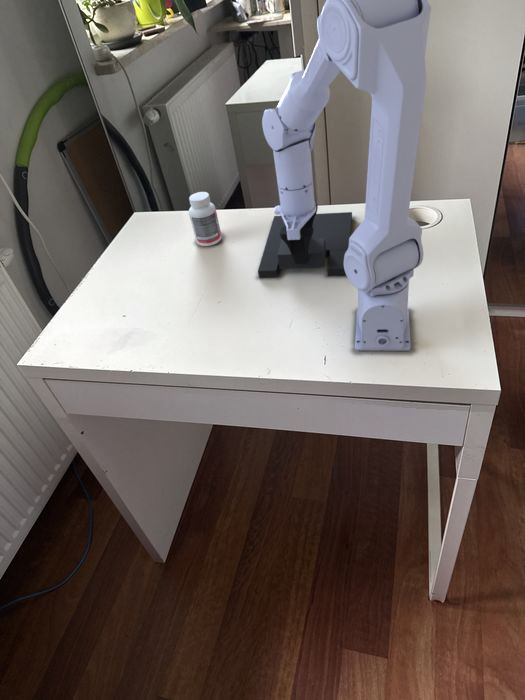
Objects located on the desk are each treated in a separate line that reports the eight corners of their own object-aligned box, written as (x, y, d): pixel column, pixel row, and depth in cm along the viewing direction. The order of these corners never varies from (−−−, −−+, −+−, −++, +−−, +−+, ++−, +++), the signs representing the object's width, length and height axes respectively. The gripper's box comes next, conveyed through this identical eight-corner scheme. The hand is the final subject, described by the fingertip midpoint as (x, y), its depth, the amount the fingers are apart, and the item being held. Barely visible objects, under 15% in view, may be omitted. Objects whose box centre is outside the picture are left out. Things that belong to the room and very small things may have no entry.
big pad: (347, 275, 92) (347, 268, 91) (259, 277, 95) (257, 271, 94) (352, 218, 106) (352, 211, 105) (275, 222, 110) (274, 215, 109)
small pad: (324, 267, 92) (322, 253, 90) (279, 269, 94) (277, 254, 92) (326, 252, 96) (325, 238, 94) (283, 253, 97) (281, 239, 95)
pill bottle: (226, 239, 107) (217, 195, 101) (204, 250, 105) (193, 205, 99) (213, 230, 111) (203, 187, 104) (192, 240, 109) (180, 197, 102)
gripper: (277, 165, 91) (286, 233, 100) (263, 205, 81) (275, 277, 90) (317, 162, 89) (323, 232, 98) (309, 202, 79) (316, 276, 88)
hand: (302, 253), depth 94 cm, fingers closed on small pad, 5 cm apart
